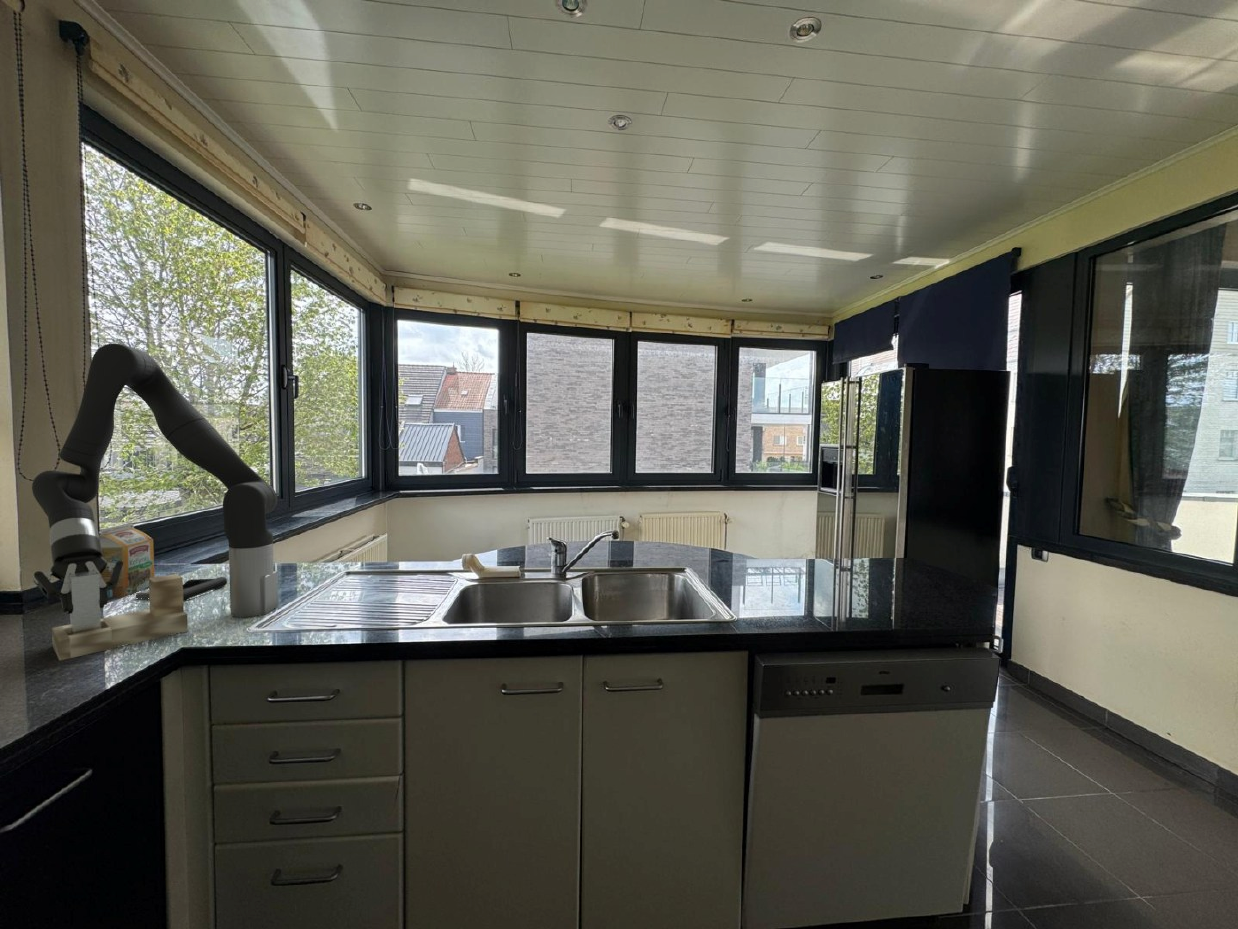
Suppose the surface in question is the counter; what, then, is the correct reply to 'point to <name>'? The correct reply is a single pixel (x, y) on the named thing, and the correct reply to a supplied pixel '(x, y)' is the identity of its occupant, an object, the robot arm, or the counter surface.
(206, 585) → the door handle
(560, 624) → the counter surface
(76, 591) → the square post
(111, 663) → the counter surface
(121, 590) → the milk carton
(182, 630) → the post base
